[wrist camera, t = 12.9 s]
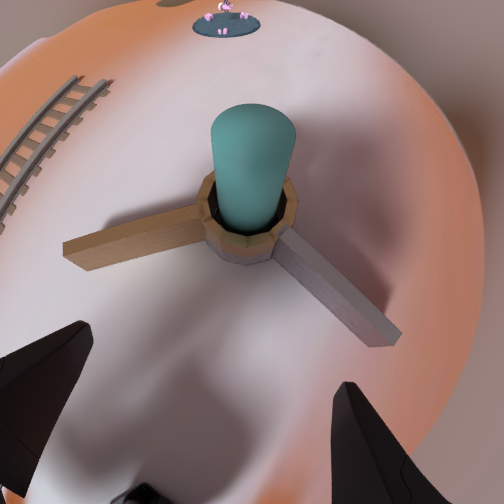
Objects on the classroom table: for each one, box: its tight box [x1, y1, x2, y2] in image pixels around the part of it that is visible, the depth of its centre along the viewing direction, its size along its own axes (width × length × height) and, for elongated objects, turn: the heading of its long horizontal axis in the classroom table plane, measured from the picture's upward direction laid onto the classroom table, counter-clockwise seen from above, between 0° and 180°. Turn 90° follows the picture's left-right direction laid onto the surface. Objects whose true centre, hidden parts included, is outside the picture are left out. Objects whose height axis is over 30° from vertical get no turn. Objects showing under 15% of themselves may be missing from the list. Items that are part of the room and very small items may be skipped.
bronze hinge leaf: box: [63, 170, 298, 271], centre depth 22 cm, size 17×12×4 cm
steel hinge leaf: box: [205, 195, 402, 347], centre depth 22 cm, size 7×19×4 cm, turn 46°
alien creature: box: [192, 0, 260, 38], centre depth 35 cm, size 12×12×7 cm
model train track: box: [0, 76, 110, 235], centre depth 27 cm, size 11×31×2 cm, turn 154°
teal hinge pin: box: [211, 104, 296, 237], centre depth 20 cm, size 4×4×12 cm
